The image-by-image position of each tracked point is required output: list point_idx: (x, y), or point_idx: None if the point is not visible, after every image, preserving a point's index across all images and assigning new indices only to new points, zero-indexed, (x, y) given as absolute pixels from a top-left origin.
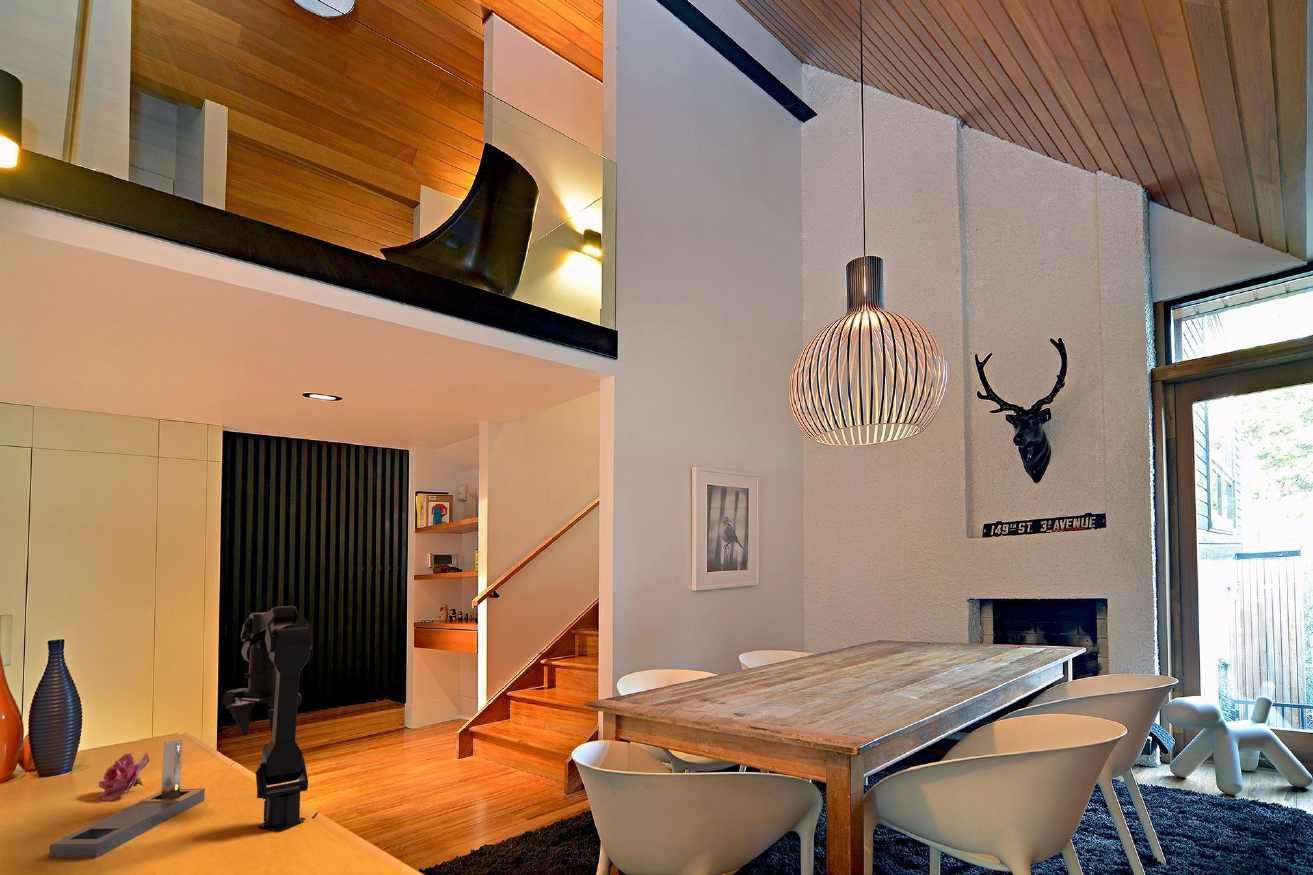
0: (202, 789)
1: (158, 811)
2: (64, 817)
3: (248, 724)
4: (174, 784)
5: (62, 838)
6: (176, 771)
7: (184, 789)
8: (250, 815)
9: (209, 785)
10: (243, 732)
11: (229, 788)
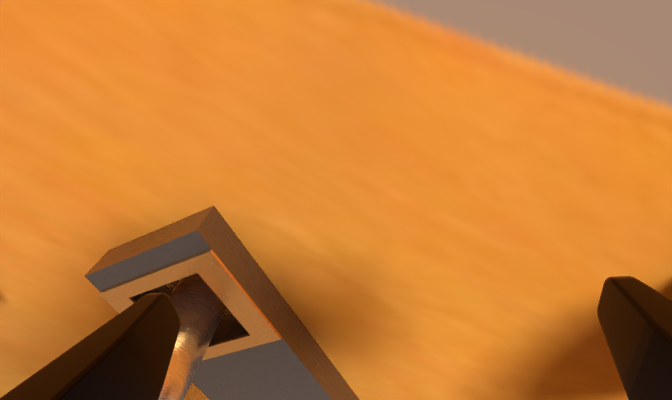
0: (199, 238)
1: (323, 394)
2: None
3: (93, 377)
4: (201, 356)
5: None
6: (180, 396)
7: (142, 259)
8: (550, 253)
9: (4, 75)
10: (167, 357)
11: (125, 66)
